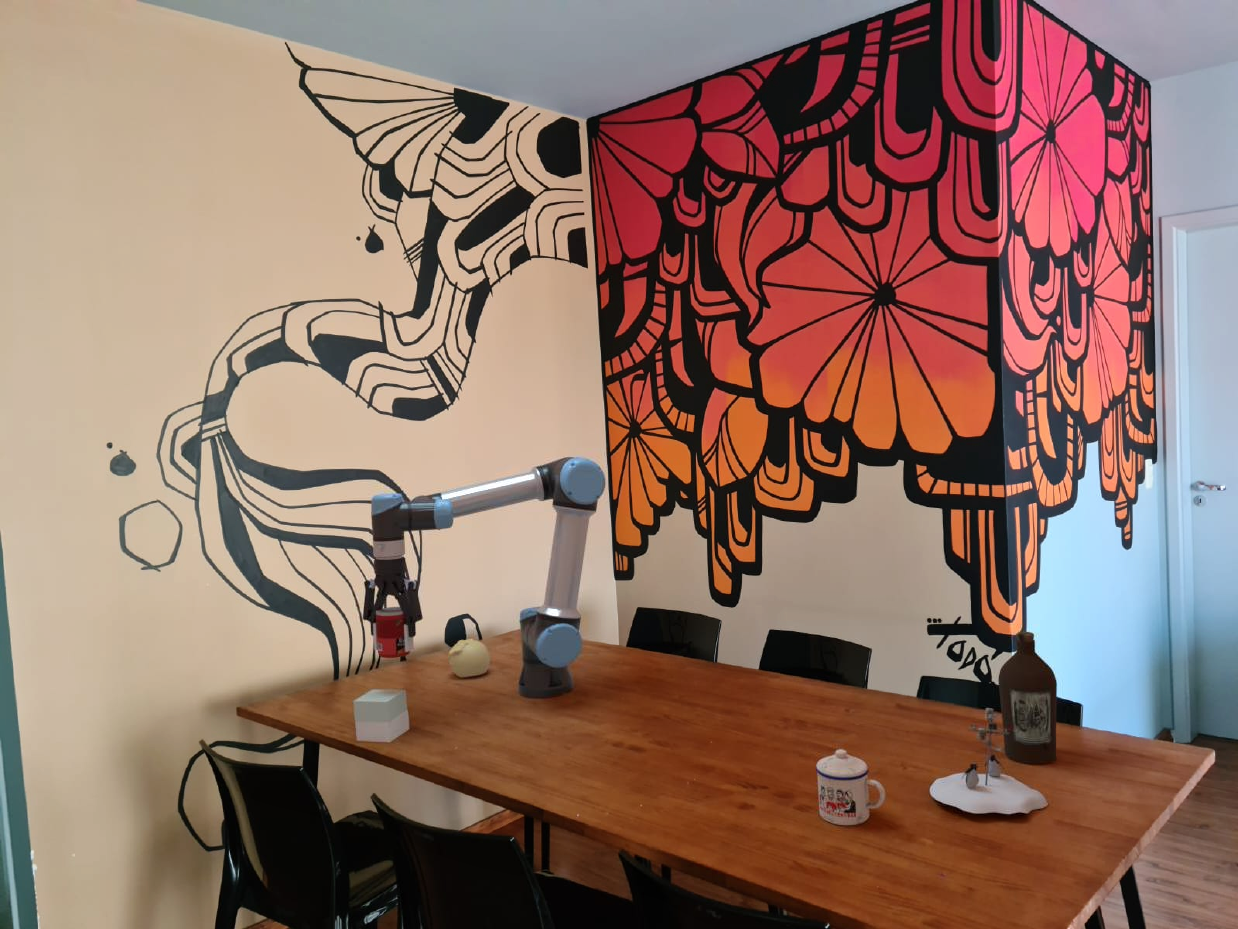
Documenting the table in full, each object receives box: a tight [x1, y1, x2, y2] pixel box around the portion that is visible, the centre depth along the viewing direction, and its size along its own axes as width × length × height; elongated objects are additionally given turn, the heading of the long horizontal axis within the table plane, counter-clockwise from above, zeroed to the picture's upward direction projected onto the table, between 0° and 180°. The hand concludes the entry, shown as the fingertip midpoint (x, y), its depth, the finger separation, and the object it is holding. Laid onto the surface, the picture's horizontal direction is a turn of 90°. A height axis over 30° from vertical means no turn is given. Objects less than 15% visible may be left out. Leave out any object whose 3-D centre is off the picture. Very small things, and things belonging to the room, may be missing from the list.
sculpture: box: [447, 638, 491, 678], centre depth 260 cm, size 12×12×11 cm
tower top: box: [353, 688, 408, 723], centre depth 212 cm, size 9×9×5 cm
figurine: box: [929, 707, 1049, 815], centre depth 158 cm, size 20×18×16 cm
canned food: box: [376, 606, 411, 659], centre depth 214 cm, size 8×8×11 cm
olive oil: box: [997, 631, 1058, 765], centre depth 175 cm, size 11×11×25 cm
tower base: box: [354, 709, 410, 743], centre depth 213 cm, size 9×9×5 cm
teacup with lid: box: [815, 749, 886, 826], centre depth 154 cm, size 12×9×12 cm
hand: (394, 649), depth 214 cm, fingers closed on canned food, 8 cm apart
